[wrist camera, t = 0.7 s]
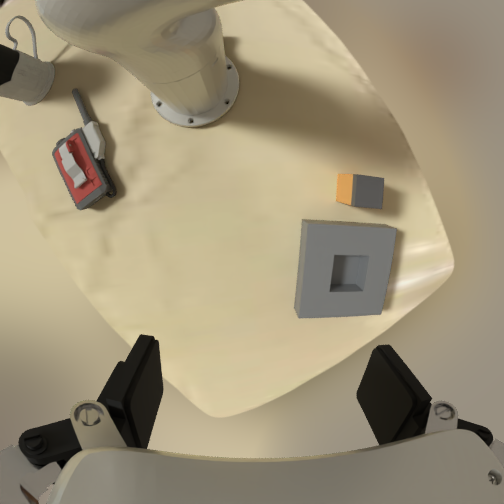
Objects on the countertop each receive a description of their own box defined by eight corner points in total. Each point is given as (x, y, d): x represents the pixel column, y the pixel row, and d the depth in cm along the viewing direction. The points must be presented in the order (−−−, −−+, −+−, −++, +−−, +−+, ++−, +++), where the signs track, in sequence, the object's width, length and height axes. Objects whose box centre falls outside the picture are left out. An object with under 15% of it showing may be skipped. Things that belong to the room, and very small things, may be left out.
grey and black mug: (17, 106, 31) (-37, 97, 17) (40, 40, 28) (-5, 16, 13) (46, 104, 32) (-11, 90, 18) (71, 33, 29) (27, 2, 14)
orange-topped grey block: (337, 173, 38) (356, 174, 32) (362, 176, 38) (384, 178, 32) (336, 200, 39) (354, 206, 33) (360, 202, 40) (381, 209, 33)
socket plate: (302, 219, 40) (307, 223, 36) (385, 224, 41) (396, 228, 37) (294, 307, 44) (298, 318, 40) (372, 305, 44) (381, 314, 41)
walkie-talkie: (130, 186, 38) (83, 87, 32) (119, 188, 33) (69, 80, 28) (89, 216, 38) (46, 119, 33) (75, 221, 34) (31, 116, 29)
